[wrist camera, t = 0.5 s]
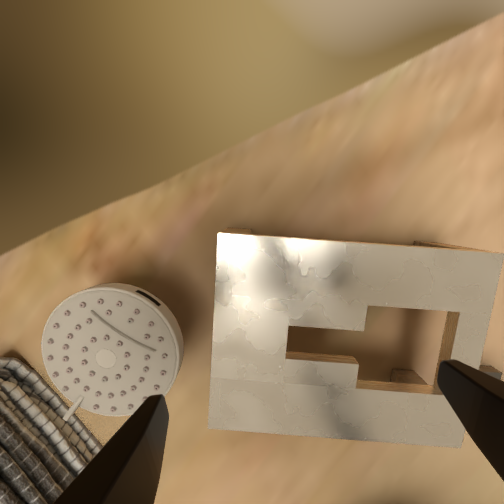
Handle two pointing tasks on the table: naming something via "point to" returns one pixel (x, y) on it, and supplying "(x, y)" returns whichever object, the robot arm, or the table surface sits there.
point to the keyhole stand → (338, 317)
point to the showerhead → (112, 348)
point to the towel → (37, 438)
